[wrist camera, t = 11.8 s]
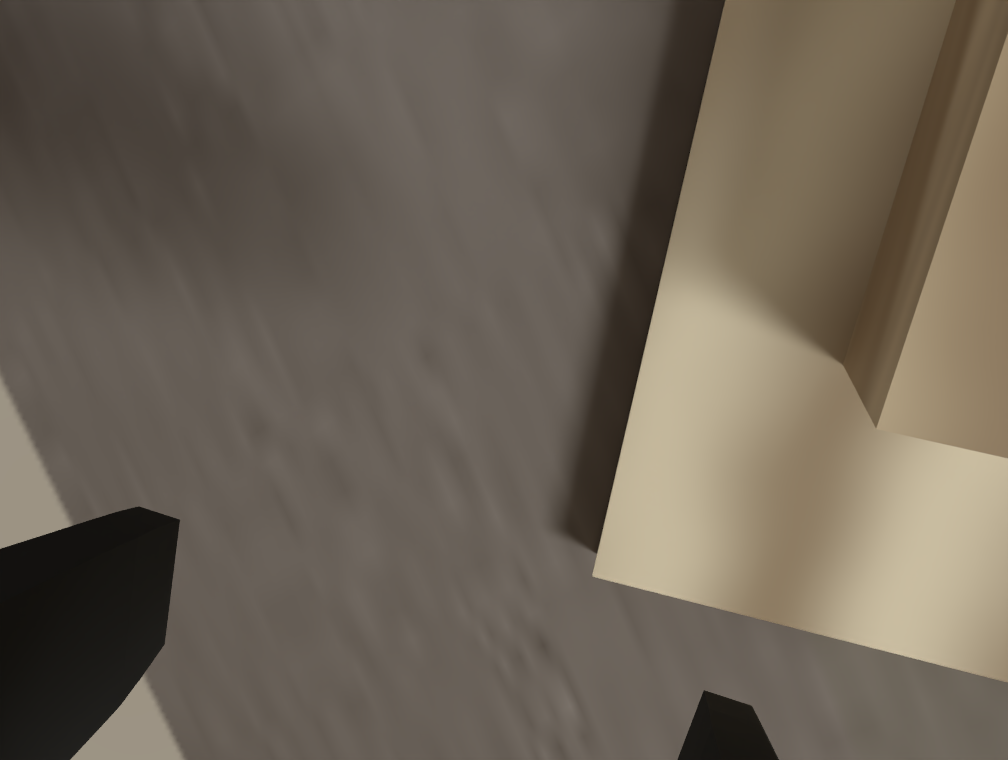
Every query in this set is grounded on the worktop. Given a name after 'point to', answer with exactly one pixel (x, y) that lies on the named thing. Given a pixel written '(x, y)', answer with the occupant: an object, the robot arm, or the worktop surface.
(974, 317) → the turner
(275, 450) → the worktop surface
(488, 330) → the worktop surface
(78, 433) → the worktop surface
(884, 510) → the tool board
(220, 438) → the worktop surface
